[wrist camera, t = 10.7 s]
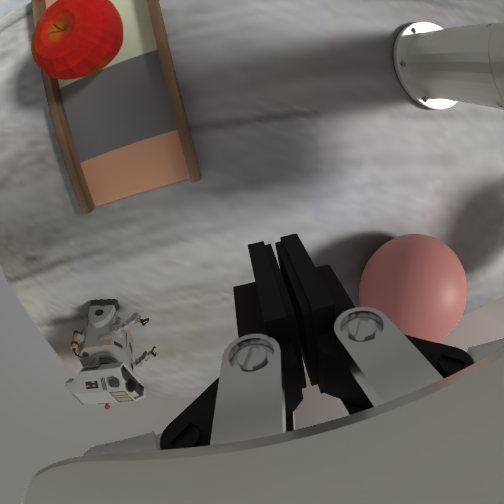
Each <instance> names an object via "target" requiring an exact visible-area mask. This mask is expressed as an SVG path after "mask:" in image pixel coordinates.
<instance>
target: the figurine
mask: <svg viewBox="0 0 504 504" xmlns="http://www.w3.org/2000/svg"><path fill="white" fill-rule="evenodd" d="M90 306H91V307H90V310H89V313H88V319H89V320H88V321H87V323H86V324H85V326H84V329H83V330H81V333H80V332H79V331H74V336H73V341H72V344H71V350H72V351H74V353H75V352H76V351H77V350H78V346H79V347H80V349H79V354H78V355H77V354H76V353H75V355H76V356H78V358H79V360H80V361H81V363H82V365H83V369H82V370H81V371H80V372H79V373H78V374H77V376H76V377H75V378H74V379H69V380H68V381H67V382H65V386H66V387H67V389H68V390H69V391H70V393H71V394H72V395H73V396H74V397H75V398H76V399H77V400H79V402H80V403H81V404H106V406H105V408H106V409H109V408H110V406H109V405H107V404H108V403H117V402H132V401H137V400H139V399H141V398H143V397H145V386H144V385H143V383H142V382H141V381H140V380H139V379H138V378H137V376H136V375H135V374H134V373H133V368H134V367H135V366H137V367H142V363H144V362H145V361H148V359H149V357H150V355H151V354H153V355H154V356H156V353H157V352H156V353H155V354H154V353H153V350H154V348H156V347H155V346H154V347H153V349H152V351H151V352H148V353H147V351H145V352H144V353H143V355H142V356H141V357H140V358H137V359H136V360H135V361H136V362H133V358H132V352H133V341H132V338H131V337H132V336H131V333H130V330H129V328H130V327H129V326H131V325H133V324H135V323H137V322H140V323H142V325H143V326H144V325H145V324H146V323H148V321H149V318H147V319H144V320H143V319H141V316H140V315H139V314H138V313H134V314H133V315H132V316H131V318H130V319H128V320H127V321H124V320H123V319H121V318H119V317H117V316H115V315H114V313H115V311H117V310H118V308H119V304H118V301H117V300H116V299H113V300H110V299H108V300H99V301H98V300H95V301H91V304H90ZM145 321H147V322H146V323H143V322H145Z"/></svg>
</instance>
